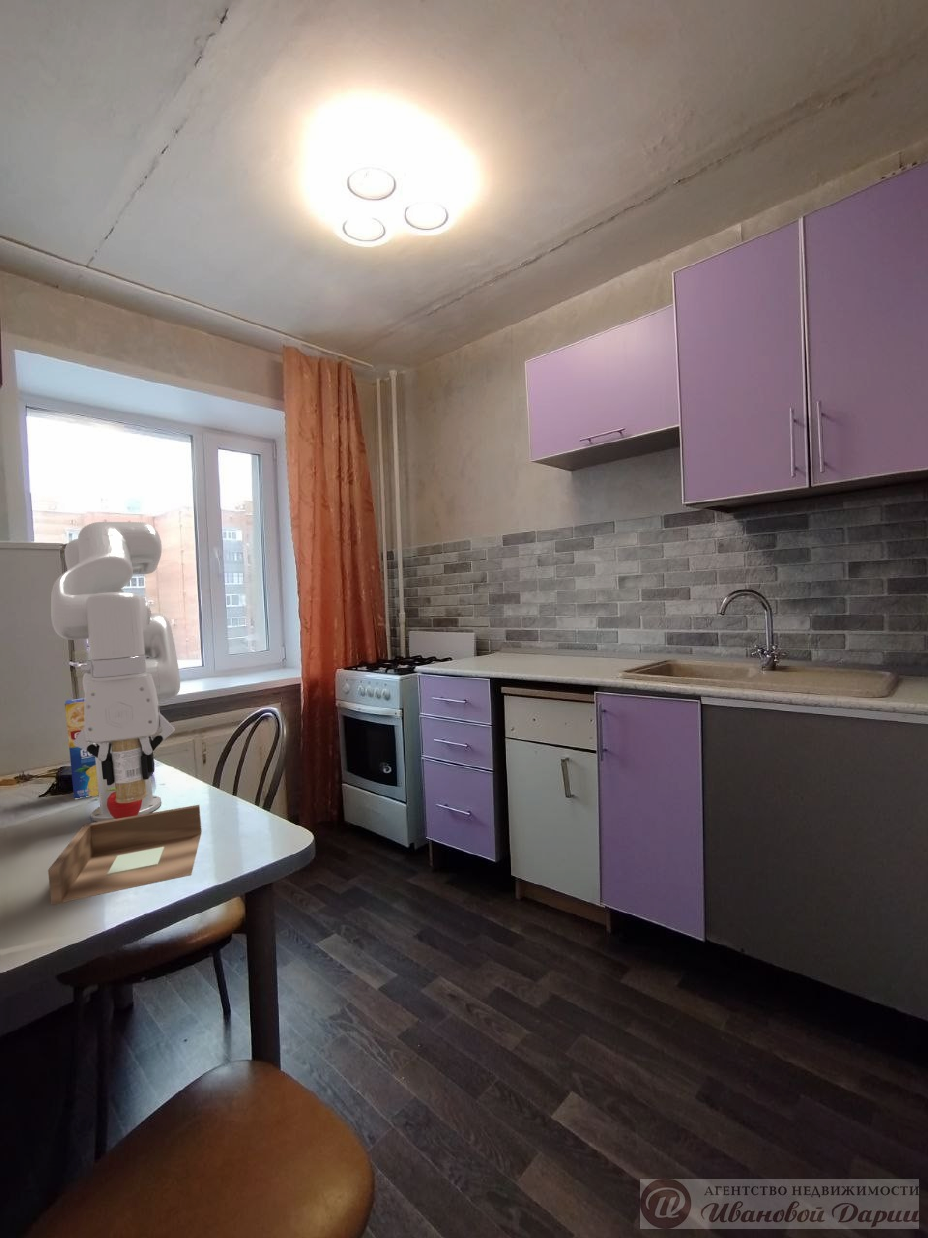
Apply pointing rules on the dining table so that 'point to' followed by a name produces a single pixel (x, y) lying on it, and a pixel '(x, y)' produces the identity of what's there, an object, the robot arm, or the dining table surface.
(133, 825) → the tray
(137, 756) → the sprinkles bottle
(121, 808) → the strawberry
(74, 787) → the beverage box
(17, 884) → the dining table surface
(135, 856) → the sage pad
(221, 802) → the dining table surface
